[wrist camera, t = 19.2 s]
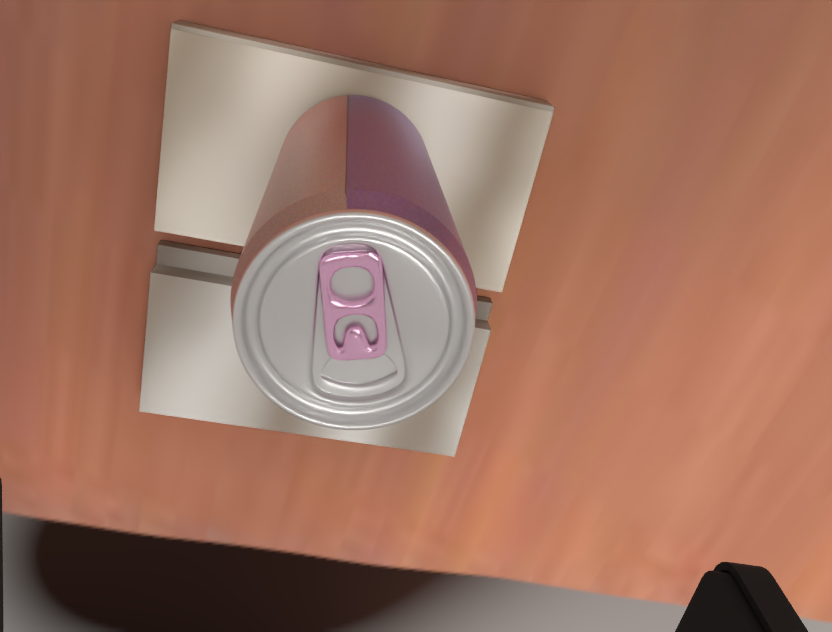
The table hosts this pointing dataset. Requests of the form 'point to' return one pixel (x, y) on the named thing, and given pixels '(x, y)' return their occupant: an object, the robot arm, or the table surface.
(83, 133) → the table surface
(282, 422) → the floorboard
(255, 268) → the beverage can
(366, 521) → the table surface
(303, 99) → the plank
